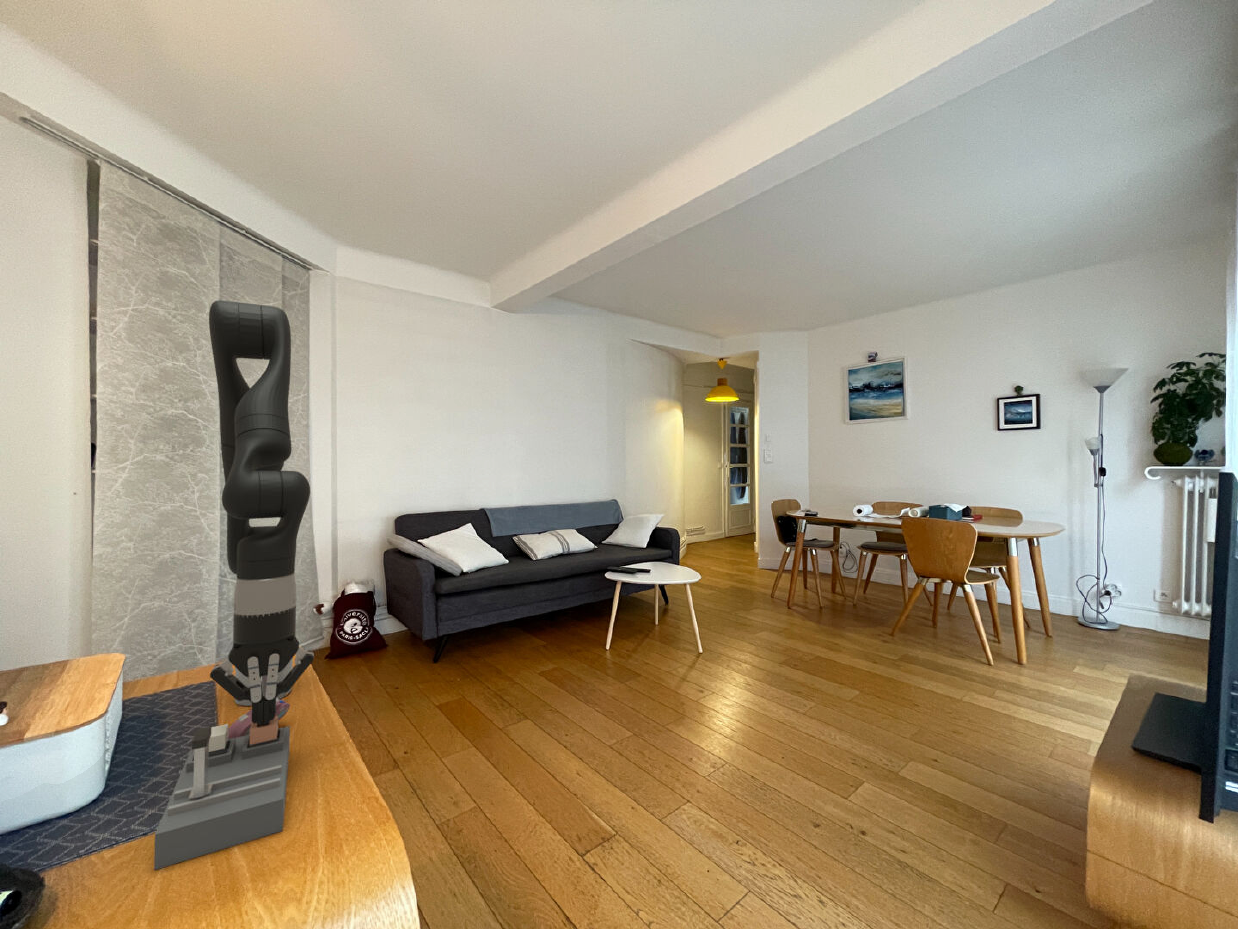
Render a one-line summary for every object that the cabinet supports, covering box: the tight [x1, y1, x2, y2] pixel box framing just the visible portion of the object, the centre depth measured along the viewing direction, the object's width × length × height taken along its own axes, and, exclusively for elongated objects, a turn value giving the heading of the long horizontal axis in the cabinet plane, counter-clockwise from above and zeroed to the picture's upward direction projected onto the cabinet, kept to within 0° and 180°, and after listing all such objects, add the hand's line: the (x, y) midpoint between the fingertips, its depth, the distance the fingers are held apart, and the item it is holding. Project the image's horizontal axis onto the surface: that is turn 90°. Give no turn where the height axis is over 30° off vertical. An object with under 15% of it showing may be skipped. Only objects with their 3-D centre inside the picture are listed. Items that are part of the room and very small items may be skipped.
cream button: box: [209, 723, 229, 752], centre depth 71 cm, size 3×3×2 cm
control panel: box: [153, 725, 291, 871], centre depth 68 cm, size 20×12×5 cm, turn 31°
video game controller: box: [228, 698, 291, 739], centre depth 83 cm, size 10×5×7 cm, turn 169°
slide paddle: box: [189, 726, 213, 801], centre depth 62 cm, size 3×2×8 cm, turn 32°
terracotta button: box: [250, 716, 279, 745], centre depth 74 cm, size 3×3×2 cm
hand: (263, 723), depth 73 cm, fingers closed
